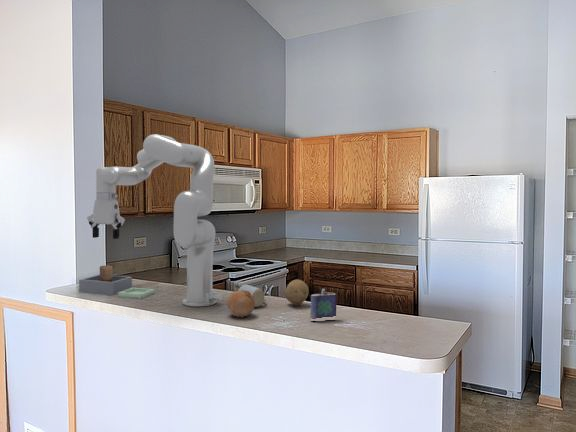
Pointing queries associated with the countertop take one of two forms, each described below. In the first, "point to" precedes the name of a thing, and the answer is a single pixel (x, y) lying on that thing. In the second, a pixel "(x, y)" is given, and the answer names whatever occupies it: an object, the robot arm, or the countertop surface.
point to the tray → (136, 293)
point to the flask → (323, 305)
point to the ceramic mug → (254, 294)
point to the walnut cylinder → (106, 273)
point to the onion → (240, 303)
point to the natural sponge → (296, 292)
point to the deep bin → (105, 285)
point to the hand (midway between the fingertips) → (105, 238)
